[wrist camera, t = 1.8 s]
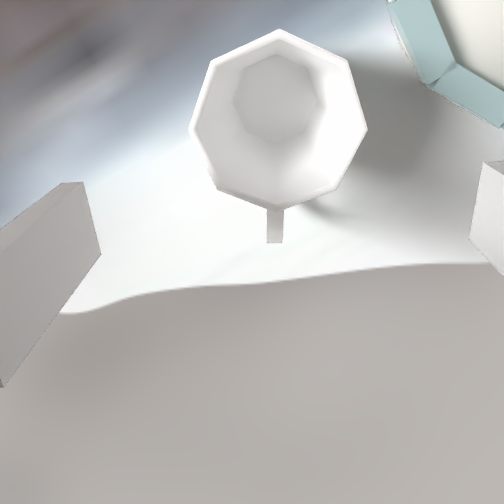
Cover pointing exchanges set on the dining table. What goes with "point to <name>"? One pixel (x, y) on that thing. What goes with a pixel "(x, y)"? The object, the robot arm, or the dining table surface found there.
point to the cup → (278, 123)
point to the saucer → (456, 50)
